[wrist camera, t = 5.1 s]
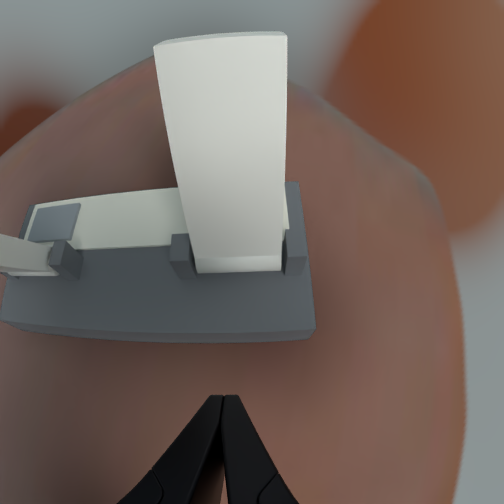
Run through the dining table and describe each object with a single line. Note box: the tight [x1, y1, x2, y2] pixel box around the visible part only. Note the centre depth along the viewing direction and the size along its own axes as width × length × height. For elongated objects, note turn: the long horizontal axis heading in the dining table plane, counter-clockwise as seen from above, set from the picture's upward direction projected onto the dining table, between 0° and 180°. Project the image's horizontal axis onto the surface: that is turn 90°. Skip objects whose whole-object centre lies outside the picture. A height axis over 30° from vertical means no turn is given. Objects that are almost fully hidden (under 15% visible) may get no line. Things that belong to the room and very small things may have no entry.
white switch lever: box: [153, 32, 287, 273], centre depth 13 cm, size 2×4×12 cm, turn 92°
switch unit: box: [0, 182, 316, 343], centre depth 19 cm, size 10×22×5 cm, turn 92°
